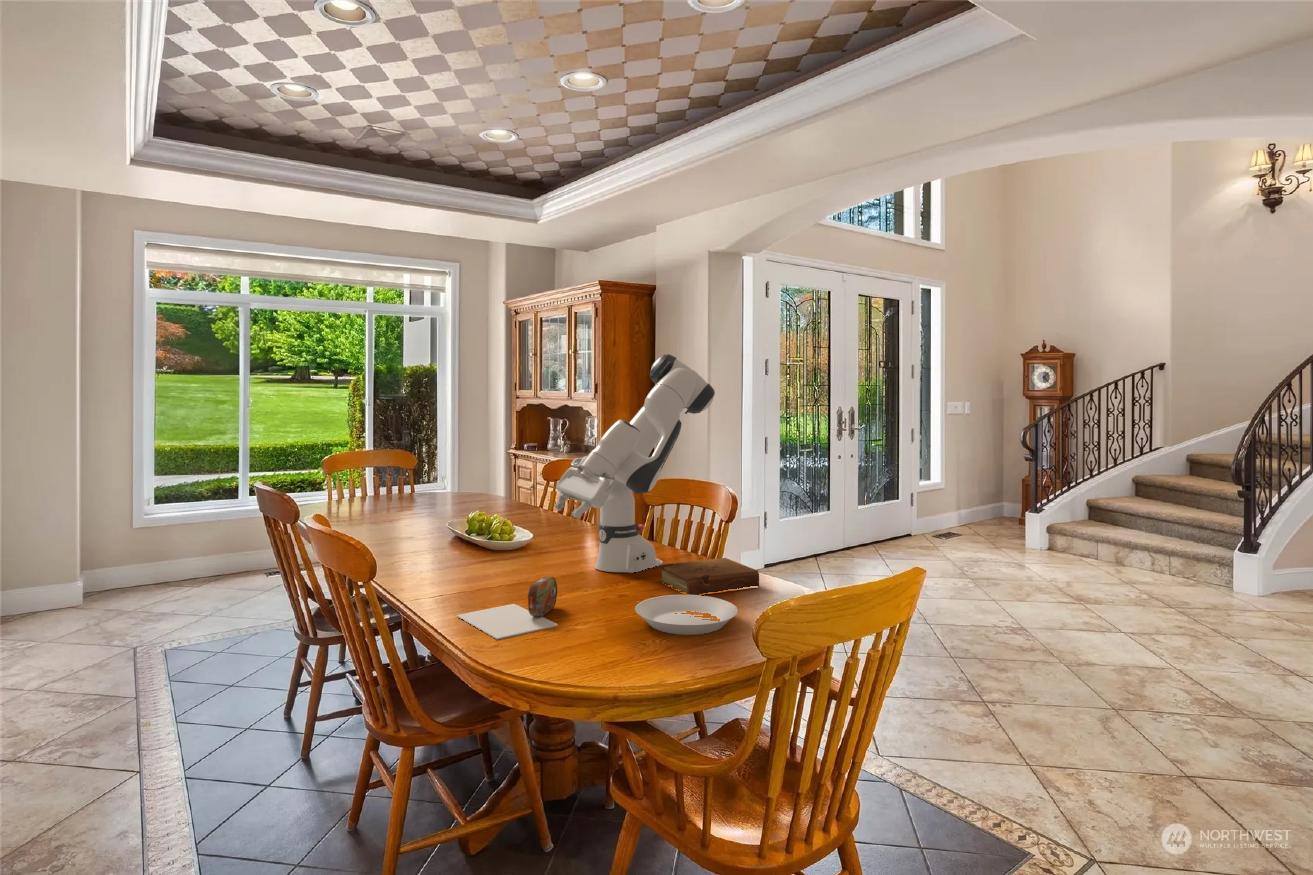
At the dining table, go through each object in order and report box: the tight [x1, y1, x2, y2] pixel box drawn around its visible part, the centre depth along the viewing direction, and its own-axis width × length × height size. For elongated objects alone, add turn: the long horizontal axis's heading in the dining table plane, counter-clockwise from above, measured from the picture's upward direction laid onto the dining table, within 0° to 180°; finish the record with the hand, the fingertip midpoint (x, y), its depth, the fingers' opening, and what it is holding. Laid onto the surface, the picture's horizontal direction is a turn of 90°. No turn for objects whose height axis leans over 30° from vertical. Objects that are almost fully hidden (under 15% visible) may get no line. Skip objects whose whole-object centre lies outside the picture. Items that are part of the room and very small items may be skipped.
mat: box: [455, 603, 559, 641], centre depth 176 cm, size 16×22×1 cm
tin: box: [527, 576, 558, 618], centre depth 182 cm, size 15×3×8 cm, turn 168°
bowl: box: [634, 594, 739, 636], centre depth 175 cm, size 25×25×4 cm
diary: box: [658, 557, 760, 595], centre depth 210 cm, size 23×19×6 cm
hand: (565, 512), depth 187 cm, fingers open, 8 cm apart
